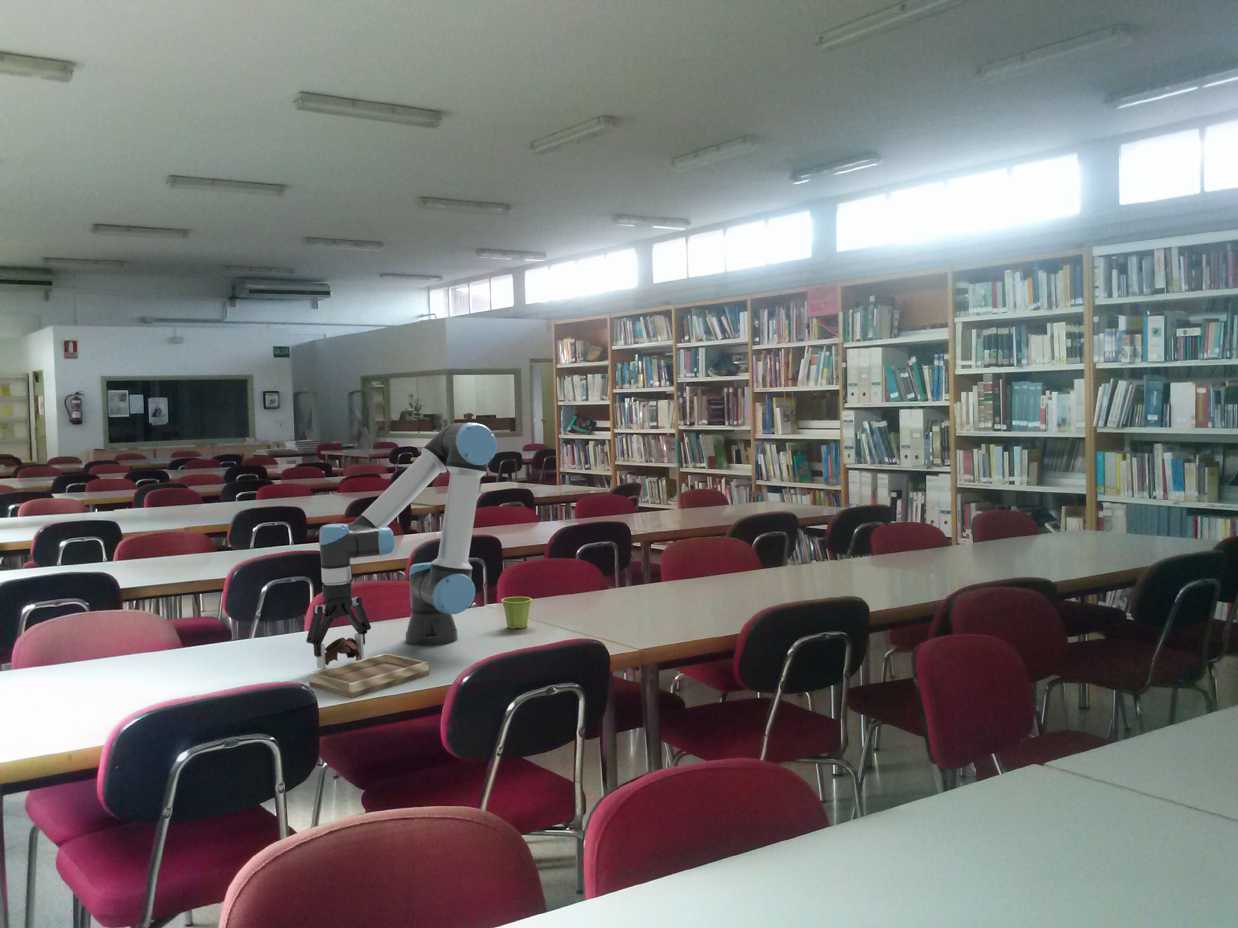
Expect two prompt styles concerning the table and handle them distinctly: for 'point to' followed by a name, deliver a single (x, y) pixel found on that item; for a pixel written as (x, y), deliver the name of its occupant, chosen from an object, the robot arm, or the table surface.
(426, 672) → the wooden tray
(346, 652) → the dark brown arched piece
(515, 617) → the plant pot
